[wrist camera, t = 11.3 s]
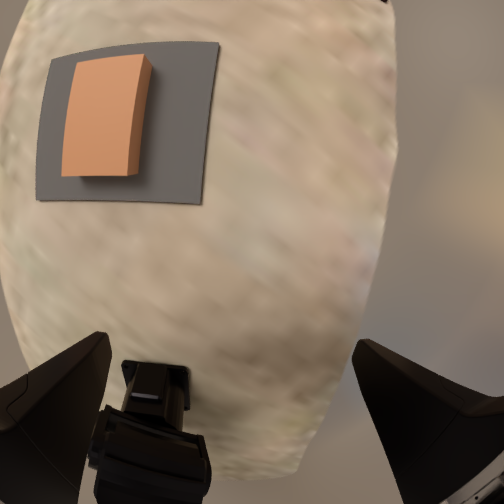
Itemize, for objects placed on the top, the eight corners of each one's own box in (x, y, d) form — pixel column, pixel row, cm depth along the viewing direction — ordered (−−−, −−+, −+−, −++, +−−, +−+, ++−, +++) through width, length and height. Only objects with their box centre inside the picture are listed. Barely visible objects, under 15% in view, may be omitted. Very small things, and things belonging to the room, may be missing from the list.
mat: (200, 203, 19) (200, 203, 18) (38, 199, 17) (35, 200, 16) (219, 44, 15) (219, 42, 15) (53, 60, 13) (51, 59, 13)
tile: (152, 65, 15) (144, 53, 12) (138, 173, 17) (127, 175, 15) (91, 71, 14) (76, 62, 11) (78, 173, 16) (61, 176, 14)
